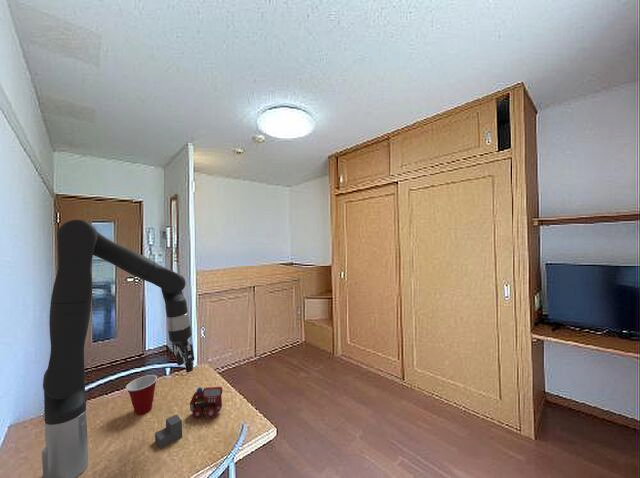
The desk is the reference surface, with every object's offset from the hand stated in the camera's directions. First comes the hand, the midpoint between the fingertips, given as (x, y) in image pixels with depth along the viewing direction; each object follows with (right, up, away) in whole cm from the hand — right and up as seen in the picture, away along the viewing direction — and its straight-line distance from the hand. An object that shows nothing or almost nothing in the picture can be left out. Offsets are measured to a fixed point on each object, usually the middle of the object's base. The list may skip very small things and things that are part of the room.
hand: (185, 367), depth 106 cm
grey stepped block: (-1, -21, -9) cm, 22 cm away
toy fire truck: (+6, -20, +5) cm, 22 cm away
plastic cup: (-21, -21, +8) cm, 30 cm away
